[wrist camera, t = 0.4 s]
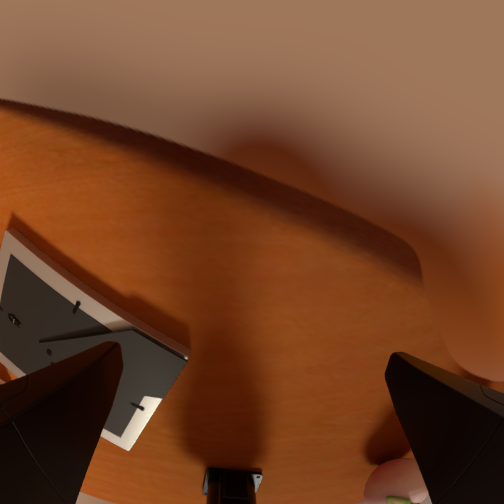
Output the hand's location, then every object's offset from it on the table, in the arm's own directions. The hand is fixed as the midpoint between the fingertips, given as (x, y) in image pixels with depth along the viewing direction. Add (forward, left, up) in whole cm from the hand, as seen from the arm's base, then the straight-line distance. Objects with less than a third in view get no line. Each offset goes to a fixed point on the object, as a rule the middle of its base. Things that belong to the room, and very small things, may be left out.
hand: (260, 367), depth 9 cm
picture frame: (-12, +16, -16) cm, 25 cm away
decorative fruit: (-24, -23, -15) cm, 36 cm away
